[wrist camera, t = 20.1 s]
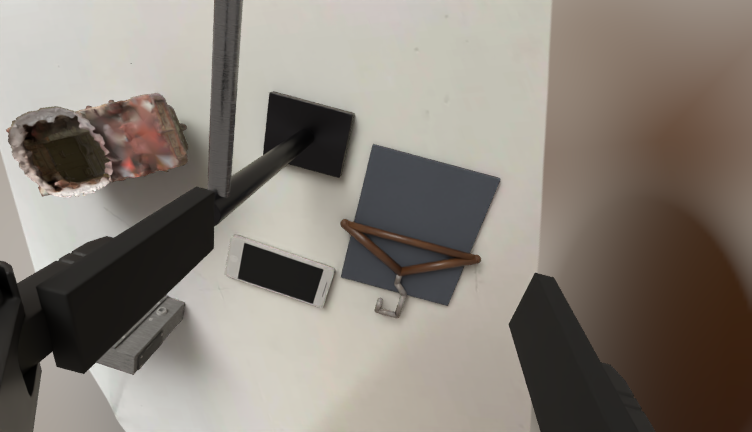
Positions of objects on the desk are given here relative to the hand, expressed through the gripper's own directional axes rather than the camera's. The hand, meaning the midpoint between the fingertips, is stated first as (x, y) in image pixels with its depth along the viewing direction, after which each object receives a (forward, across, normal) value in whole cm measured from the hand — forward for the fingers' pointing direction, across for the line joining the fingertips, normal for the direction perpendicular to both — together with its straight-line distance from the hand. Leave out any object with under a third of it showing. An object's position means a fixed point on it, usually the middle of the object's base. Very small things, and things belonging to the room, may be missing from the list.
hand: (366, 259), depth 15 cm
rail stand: (+31, -11, +1) cm, 33 cm away
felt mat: (+31, +5, -14) cm, 34 cm away
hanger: (+30, +5, -14) cm, 33 cm away
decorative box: (+31, -34, -9) cm, 46 cm away
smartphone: (+30, -12, -26) cm, 42 cm away
